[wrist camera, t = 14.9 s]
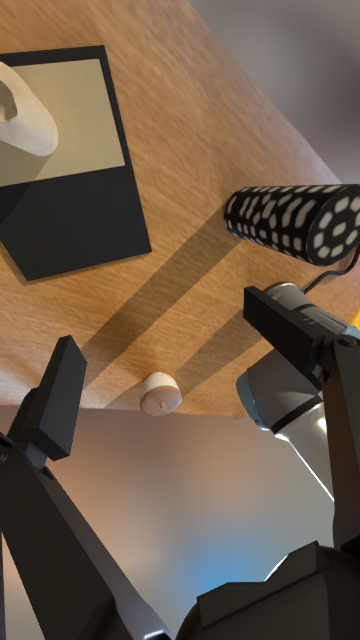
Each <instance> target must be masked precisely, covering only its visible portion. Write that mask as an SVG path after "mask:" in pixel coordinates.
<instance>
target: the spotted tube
mask: <svg viewBox="0 0 360 640" xmlns="http://www.w3.org/2000/svg"><path fill="white" fill-rule="evenodd" d="M224 221H225V225H226V228H227V229H228V231H229V232H230V233H231V234H233V235H235V236H238V237H240V238H243V239H246V240H248V241H251V242H254V243H257V244H259V245H262V246H265V247H267V248H270V249H273V250H275V251H278V252H281V253H283V254H286V255H289V256H292V257H294V258H297V259H300V260H302V261H305V262H308V263H310V264H313V265H316V266H319V267H325V266H329V265H332V264H334V263H336V262H338V261H340V260H341V259H343V258H344V257H345V256H346V255H348V254H349V253H350V252H351V251H352V250H353V249H354V248H355V246H356V245H357V244H358V243H359V241H360V184H339V185H303V186H267V187H244V188H242V189H239V190H238V191H236V192H235V193H234V194H233V195H232V196H231V198H230V199H229V201H228V203H227V205H226V208H225V212H224Z"/></svg>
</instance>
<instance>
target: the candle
mask: <svg viewBox="0 0 360 640" xmlns="http://www.w3.org/2000/svg"><path fill="white" fill-rule="evenodd" d="M0 140H2V141H4V142H7V143H9V144H11V145H13V146H16V147H18V148H20V149H22V150H24V151H27V152H29V153H31V154H34V155H37V156H47V155H49V154H51V153H53V152H54V151H55V149H56V147H57V145H58V130H57V127H56V124H55V121H54V119H53V117H52V116H51V114H50V113H49V111H48V110H47V109H46V108H45V106H44V105H43V104H42V103H41V101H40V100H39V99H38V98H37V97H36V95H35V94H34V93H33V92H32V91H31V89H30V88H29V87H28V86H27V84H26V83H25V82H24V81H23V80H22V78H21V77H20V76H19V75H18V74H17V73H16V72H15V71H14V70H12V69H11V68H10V67H9V66H7V65H6V64H4V63H2V62H0Z"/></svg>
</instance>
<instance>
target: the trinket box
mask: <svg viewBox="0 0 360 640" xmlns="http://www.w3.org/2000/svg"><path fill="white" fill-rule="evenodd" d="M181 400H182V396H181V393H180V391H179V388H178V386H177V384H176V382H175V380H174V379H173V378H172V377H171V376H169V375H167V374H164V373H162V372H156V373H153V374H151V375H149V376H148V377H147V379H146V380H145V381H144V382H143V384H142V386H141V389H140V408H141V411H142V412H143V413H145V414H147V415H149V416H160V415H164V414H167V413H169V412H171V411H173V410H174V409H176V408H177V407H178V406H179V404H180V402H181Z"/></svg>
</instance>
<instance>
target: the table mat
mask: <svg viewBox="0 0 360 640" xmlns="http://www.w3.org/2000/svg"><path fill="white" fill-rule="evenodd" d="M0 62H2V63H4V64H6V65H7V66H9V67H10V68H11V69H12V70H14V71H15V72H16V73H17V74H18V75H19V76H20V77H21V78H22V80H23V81H24V82H25V83H26V84H27V86H28V87H29V88H30V89H31V91H32V92H33V93H34V94H35V95H36V97H37V98H38V99H39V100H40V101H41V103H42V104H43V105H44V106H45V108H46V109H47V110H48V111H49V113H50V114H51V116H52V117H53V119H54V121H55V124H56V127H57V130H58V145H57V147H56V149H55V151H54V152H53V153H51V154H49V155H47V156H37V155H34V154H31V153H29V152H27V151H24V150H22V149H20V148H18V147H16V146H13V145H11V144H9V143H7V142H4V141H2V140H0V240H1V241H2V243H3V244H4V246H5V247H6V249H7V250H8V252H9V253H10V255H11V256H12V258H13V260H14V261H15V263H16V264H17V266H18V267H19V269H20V270H21V272H22V273H23V275H24V276H25V278H26V280H27V281H30V280H34V279H38V278H43V277H47V276H51V275H55V274H60V273H64V272H68V271H72V270H77V269H81V268H85V267H89V266H94V265H98V264H102V263H106V262H110V261H115V260H119V259H123V258H127V257H132V256H136V255H140V254H144V253H149V252H152V250H151V245H150V241H149V237H148V232H147V228H146V224H145V219H144V215H143V211H142V206H141V202H140V198H139V193H138V189H137V185H136V180H135V176H134V172H133V168H132V163H131V159H130V155H129V150H128V146H127V142H126V137H125V133H124V129H123V124H122V120H121V116H120V111H119V107H118V103H117V98H116V94H115V90H114V85H113V81H112V77H111V73H110V68H109V64H108V60H107V55H106V51H105V47H104V45H100V46H88V47H77V48H65V49H53V50H41V51H30V52H18V53H6V54H0Z"/></svg>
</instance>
